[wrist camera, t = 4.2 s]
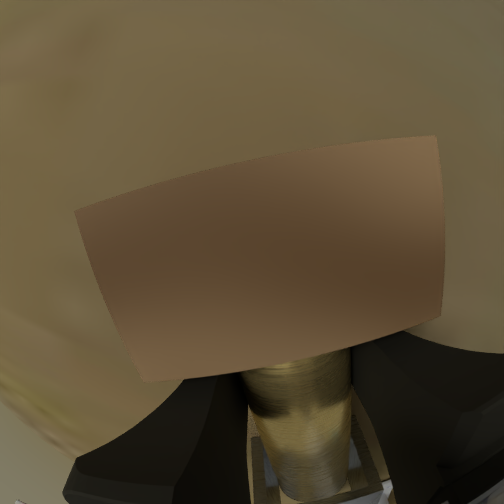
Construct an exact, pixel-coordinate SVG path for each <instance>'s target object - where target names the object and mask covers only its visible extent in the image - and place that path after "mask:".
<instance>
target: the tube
mask: <svg viewBox="0 0 504 504" xmlns="http://www.w3.org/2000/svg"><path fill="white" fill-rule="evenodd" d="M237 373H238V376H239V379H240V382H241V385H242V387H243V390H244V393H245V396H246V399H247V402H248V405H249V407H250V410H251V413H252V416H253V418H254V421H255V424H256V427H257V429H258V432H259V435H260V437H261V440H262V443H263V445H264V448H265V450H266V453H267V456H268V458H269V461H270V463H271V466H272V468H273V471H274V473H275V476H276V478H277V481H278V483H279V486H280V488H281V490H282V491H283V492H284V493H285V494H286V495H287V496H288V497H290V498H292V499H294V500H296V501H300V502H310V501H315V500H319V499H324V498H328V497H332V496H333V495H335V494H336V493H337V492H338V491H339V490H340V489H341V488H342V487H343V486H344V484H345V482H346V480H347V477H348V468H349V453H350V433H351V351H350V347H347V348H344V349H340V350H336V351H333V352H329V353H325V354H321V355H317V356H313V357H309V358H305V359H300V360H296V361H291V362H287V363H282V364H277V365H272V366H267V367H262V368H256V369H251V370H245V371H239V372H237Z"/></svg>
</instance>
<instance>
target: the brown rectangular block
mask: <svg viewBox="0 0 504 504" xmlns="http://www.w3.org/2000/svg"><path fill="white" fill-rule="evenodd" d="M74 212H75V215H76V219H77V223H78V226H79V229H80V233H81V236H82V239H83V242H84V246H85V249H86V252H87V255H88V258H89V260H90V263H91V266H92V269H93V272H94V274H95V277H96V280H97V283H98V285H99V288H100V290H101V293H102V295H103V298H104V300H105V303H106V305H107V307H108V310H109V312H110V315H111V317H112V319H113V321H114V324H115V326H116V328H117V330H118V332H119V335H120V337H121V339H122V341H123V343H124V345H125V347H126V349H127V351H128V353H129V355H130V357H131V359H132V361H133V363H134V365H135V367H136V369H137V371H138V373H139V374H140V376H141V378H142V380H143V382H144V383H145V382H158V381H170V380H180V379H189V378H198V377H206V376H213V375H220V374H227V373H233V372H239V371H245V370H251V369H256V368H262V367H267V366H272V365H277V364H282V363H287V362H291V361H296V360H300V359H305V358H309V357H313V356H317V355H321V354H325V353H329V352H333V351H336V350H340V349H344V348H347V347H351V346H354V345H358V344H361V343H365V342H368V341H371V340H374V339H378V338H381V337H384V336H387V335H390V334H393V333H396V332H399V331H402V330H405V329H407V328H410V327H413V326H416V325H419V324H421V323H424V322H427V321H429V320H432V319H434V318H437V317H439V316H441V307H442V297H443V284H444V264H445V218H444V199H443V186H442V176H441V167H440V159H439V151H438V145H437V139H436V136H419V137H405V138H393V139H382V140H373V141H364V142H355V143H347V144H340V145H333V146H326V147H319V148H313V149H307V150H301V151H295V152H289V153H284V154H278V155H273V156H268V157H263V158H258V159H253V160H249V161H244V162H239V163H235V164H230V165H226V166H222V167H218V168H213V169H209V170H205V171H201V172H197V173H194V174H190V175H186V176H182V177H179V178H175V179H171V180H168V181H164V182H161V183H157V184H154V185H150V186H147V187H144V188H141V189H137V190H134V191H131V192H128V193H125V194H122V195H119V196H116V197H112V198H110V199H107V200H104V201H101V202H98V203H95V204H92V205H89V206H87V207H84V208H81V209H78V210H76V211H74Z"/></svg>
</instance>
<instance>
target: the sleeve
mask: <svg viewBox="0 0 504 504" xmlns="http://www.w3.org/2000/svg"><path fill="white" fill-rule="evenodd" d="M251 448H252V471H253V493H254V504H281V498H280V490H279V483H278V481H277V478H276V476H275V473H274V471H273V468H272V466H271V463H270V461H269V458H268V456H267V453H266V450H265V448H264V445H263V443H262V440H261V437H254V438H251ZM348 480H349V484H350V487H351V491H350V492H347V493H343V494H340V495H336V496H332V497H328V498H324V499H319V500H315V501H310V502H305V503H299V504H378V503H379V501H380V498H381V496H382V493H383V491H384V488H383V485H382V483H381V480H380V477H379V475H378V472H377V469H376V467H375V464H374V462H373V459H372V456H371V454H370V451H369V449H368V446H367V443H366V441H365V438H364V436H363V433H362V431H361V428H360V426H359V423H358V421H357V418H356V416H355V415H354V416H351V433H350V453H349V468H348Z"/></svg>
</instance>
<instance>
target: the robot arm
mask: <svg viewBox="0 0 504 504" xmlns="http://www.w3.org/2000/svg"><path fill="white" fill-rule="evenodd" d="M350 351H351V383H352V385H353V387H354V389H355V391H356V393H357V395H358V397H359V399H360V401H361V403H362V405H363V406H364V408H365V410H366V412H367V414H368V416H369V418H370V420H371V422H372V425H373V427H374V429H375V432H376V435H377V438H378V441H379V443H380V446H381V449H382V452H383V456H384V459H385V462H386V465H387V468H388V472H389V475H390V480H388V481H385V482H382V485H383V488H384V491H383V493H382V496H381V498H380V501H379V503H378V504H389V502H388V500H387V499H388V497H389V494H390V492H391V490H392V488H393V490H394V494H395V499H396V503H397V504H481V503H482V504H504V354H496V353H484V352H475V351H468V350H463V349H458V348H453V347H449V346H445V345H441V344H438V343H435V342H431V341H428V340H425V339H422V338H420V337H417V336H414V335H412V334H410V333H407V332H405V331H403V330H402V331H399V332H396V333H393V334H390V335H387V336H384V337H381V338H378V339H374V340H371V341H368V342H365V343H361V344H358V345H354V346H351V347H350ZM247 421H248V402H247V399H246V396H245V393H244V390H243V387H242V385H241V382H240V379H239V376H238V373H237V372H233V373H227V374H220V375H213V376H206V377H198V378H189V379H184V380H183V381H182V383H181V384H180V385H179V386H178V388H177V389H176V390H175V391H174V392H173V393H172V394H171V395H170V396H169V397H168V398H167V399H166V400H165V401H164V402H163V403H162V404H161V405H160V406H159V407H158V408H157V409H156V410H154V411H153V412H152V413H151V414H149V415H148V416H147V417H146V418H144V419H143V420H142V421H141V422H139V423H138V424H137V425H136V426H134V427H133V428H131V429H130V430H128V431H127V432H125V433H124V434H122V435H121V436H119V437H117V438H116V439H114V440H112V441H111V442H109V443H107V444H105V445H103V446H101V447H99V448H97V449H95V450H93V451H91V452H89V453H86V454H84V455H82V456H80V457H77V458H76V460H75V463H74V465H73V467H72V470H71V472H70V474H69V477H68V479H67V482H66V484H65V487H64V489H63V496H64V498H65V500H66V501H67V502H68V503H69V504H251V500H250V490H249V481H248V469H247V453H246V445H247ZM15 504H26V503H24V502H22V501H20V500H16V502H15Z"/></svg>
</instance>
